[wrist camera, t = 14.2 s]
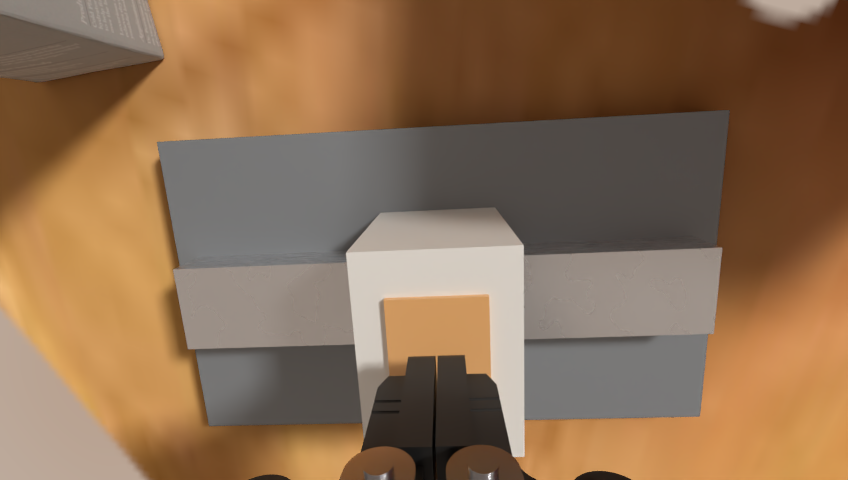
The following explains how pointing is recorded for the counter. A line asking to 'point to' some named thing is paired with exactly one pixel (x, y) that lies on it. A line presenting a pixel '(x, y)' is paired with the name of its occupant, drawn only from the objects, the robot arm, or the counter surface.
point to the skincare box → (74, 37)
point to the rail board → (441, 190)
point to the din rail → (543, 293)
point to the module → (440, 301)
